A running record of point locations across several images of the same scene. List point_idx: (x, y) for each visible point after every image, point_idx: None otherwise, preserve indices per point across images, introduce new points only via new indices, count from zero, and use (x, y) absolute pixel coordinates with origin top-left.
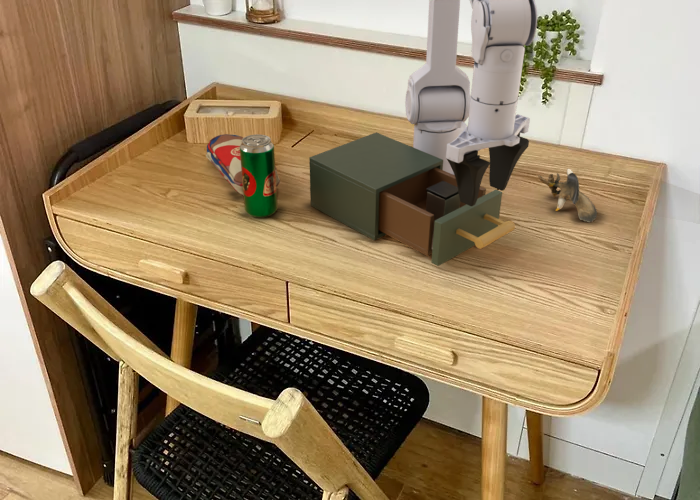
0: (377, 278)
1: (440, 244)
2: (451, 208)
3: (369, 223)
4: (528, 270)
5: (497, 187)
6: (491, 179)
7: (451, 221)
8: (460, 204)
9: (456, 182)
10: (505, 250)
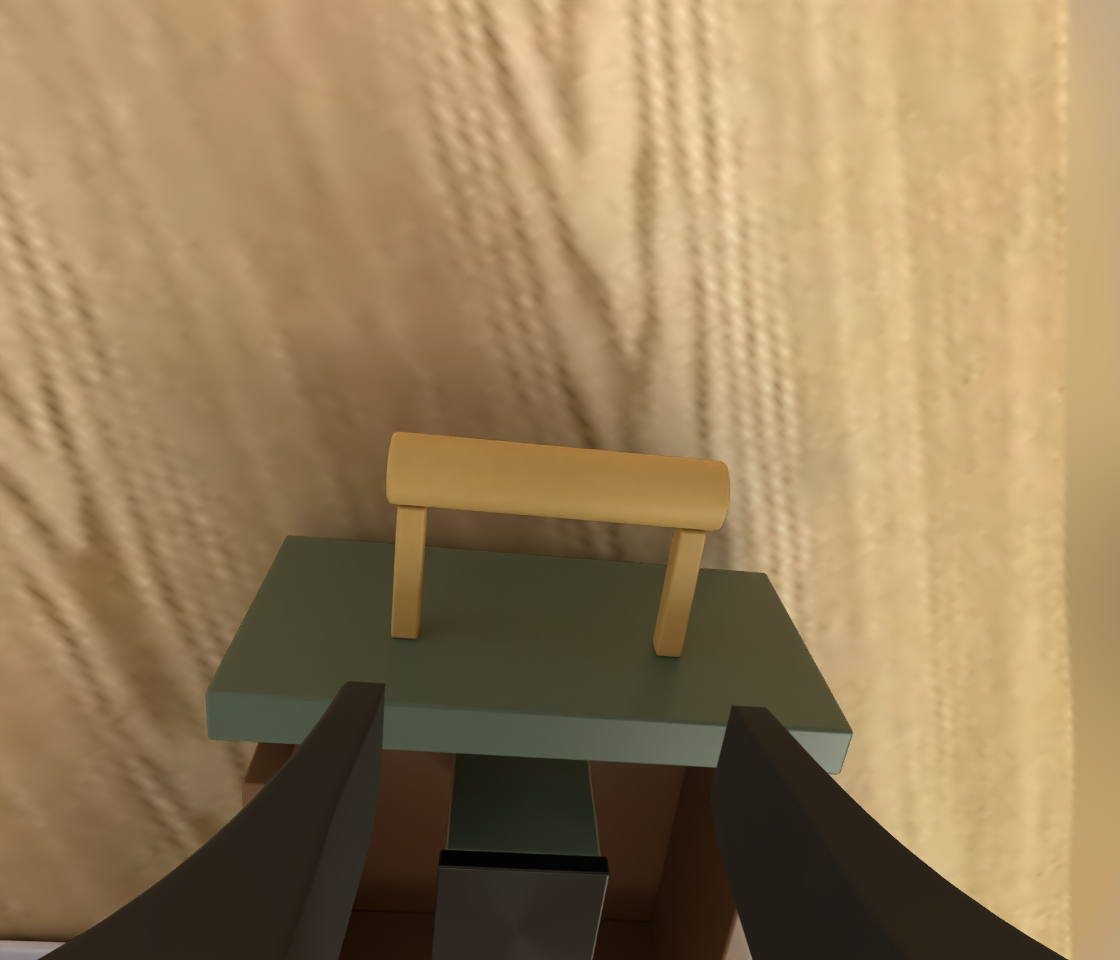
0: (943, 695)
1: (800, 642)
2: (531, 791)
3: None
4: (450, 228)
5: (382, 730)
6: (371, 818)
7: None
8: None
9: None
10: (365, 424)
